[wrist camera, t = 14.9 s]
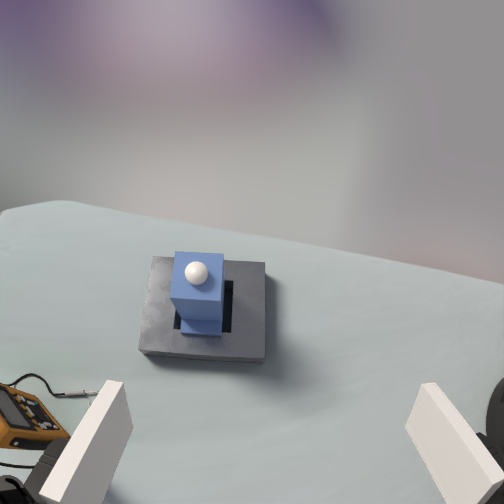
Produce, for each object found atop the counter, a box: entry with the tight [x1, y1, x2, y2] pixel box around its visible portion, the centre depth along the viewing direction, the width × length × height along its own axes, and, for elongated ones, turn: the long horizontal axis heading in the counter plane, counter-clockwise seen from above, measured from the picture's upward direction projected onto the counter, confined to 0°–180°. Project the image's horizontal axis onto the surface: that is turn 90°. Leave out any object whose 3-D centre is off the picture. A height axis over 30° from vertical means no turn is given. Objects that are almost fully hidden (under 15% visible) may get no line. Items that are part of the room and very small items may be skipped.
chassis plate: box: [138, 256, 265, 363], centre depth 37 cm, size 14×12×3 cm
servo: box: [170, 251, 225, 336], centre depth 33 cm, size 4×8×12 cm, turn 179°
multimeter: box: [0, 373, 99, 469], centre depth 21 cm, size 15×10×20 cm
